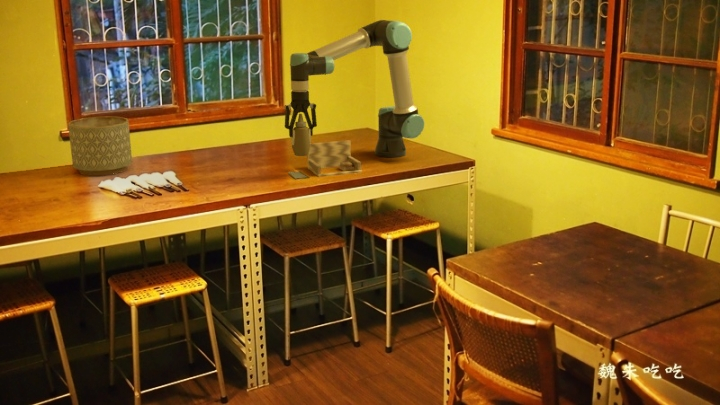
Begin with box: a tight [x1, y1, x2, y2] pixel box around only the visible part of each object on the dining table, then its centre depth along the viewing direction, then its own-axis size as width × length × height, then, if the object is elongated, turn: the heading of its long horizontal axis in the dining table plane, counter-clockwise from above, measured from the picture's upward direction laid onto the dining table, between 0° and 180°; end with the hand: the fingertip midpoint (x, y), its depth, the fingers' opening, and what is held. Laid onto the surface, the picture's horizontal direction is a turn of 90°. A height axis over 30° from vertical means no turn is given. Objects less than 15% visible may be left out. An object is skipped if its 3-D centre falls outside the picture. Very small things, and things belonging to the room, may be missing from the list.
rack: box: [306, 139, 363, 178], centre depth 350 cm, size 20×16×12 cm
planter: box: [67, 116, 133, 176], centre depth 354 cm, size 26×26×22 cm
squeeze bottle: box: [291, 113, 311, 157], centre depth 341 cm, size 8×8×18 cm
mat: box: [287, 170, 311, 180], centre depth 346 cm, size 10×11×1 cm
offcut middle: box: [338, 165, 355, 172], centre depth 353 cm, size 5×6×2 cm
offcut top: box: [341, 162, 352, 168], centre depth 353 cm, size 4×5×2 cm
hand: (301, 143), depth 342 cm, fingers closed on squeeze bottle, 6 cm apart
